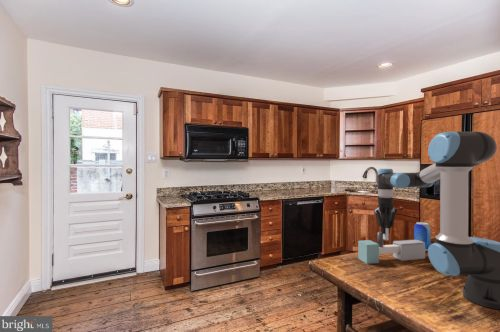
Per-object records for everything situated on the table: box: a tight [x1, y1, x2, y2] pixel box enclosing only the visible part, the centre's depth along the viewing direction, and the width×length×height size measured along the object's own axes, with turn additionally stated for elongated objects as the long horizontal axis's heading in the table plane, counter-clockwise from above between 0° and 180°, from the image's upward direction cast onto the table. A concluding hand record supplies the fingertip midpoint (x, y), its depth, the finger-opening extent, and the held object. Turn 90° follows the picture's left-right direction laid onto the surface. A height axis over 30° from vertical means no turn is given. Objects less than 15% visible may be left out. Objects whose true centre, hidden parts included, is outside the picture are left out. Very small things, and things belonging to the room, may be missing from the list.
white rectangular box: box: [392, 239, 426, 261], centre depth 152 cm, size 7×15×9 cm, turn 100°
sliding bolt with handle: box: [376, 231, 400, 255], centre depth 150 cm, size 4×24×11 cm, turn 100°
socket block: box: [357, 239, 380, 265], centre depth 148 cm, size 8×7×10 cm
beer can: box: [413, 221, 432, 252], centre depth 166 cm, size 8×8×16 cm
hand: (385, 239), depth 150 cm, fingers closed
